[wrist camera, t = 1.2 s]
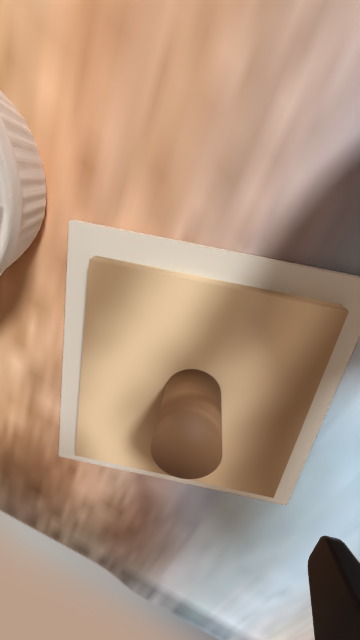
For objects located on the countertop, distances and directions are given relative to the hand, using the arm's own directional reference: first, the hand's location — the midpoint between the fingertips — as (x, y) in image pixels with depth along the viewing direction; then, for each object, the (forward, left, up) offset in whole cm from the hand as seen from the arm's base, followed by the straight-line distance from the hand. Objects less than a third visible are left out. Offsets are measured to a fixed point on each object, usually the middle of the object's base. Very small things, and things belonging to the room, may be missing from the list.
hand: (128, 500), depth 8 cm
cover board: (-2, +4, -12) cm, 13 cm away
